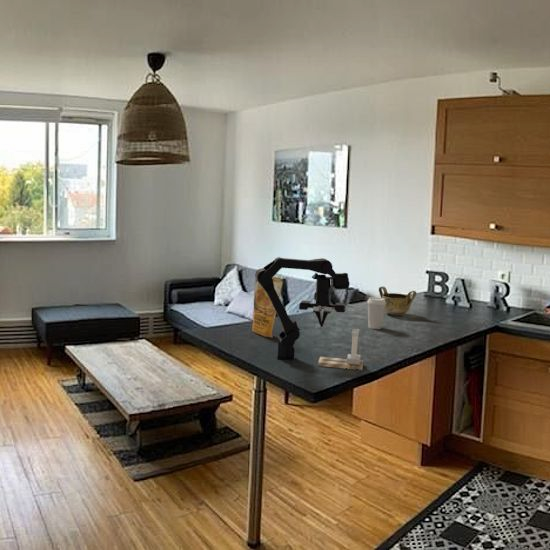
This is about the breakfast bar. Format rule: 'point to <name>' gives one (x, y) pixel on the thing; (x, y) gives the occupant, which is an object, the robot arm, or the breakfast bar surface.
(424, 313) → the breakfast bar surface
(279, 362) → the breakfast bar surface
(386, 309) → the basket with handles
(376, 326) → the coffee cup
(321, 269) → the robot arm
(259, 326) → the pancake mix bag
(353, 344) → the fader tab
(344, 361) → the fader console
